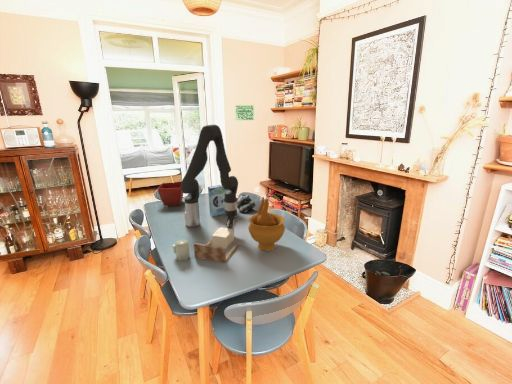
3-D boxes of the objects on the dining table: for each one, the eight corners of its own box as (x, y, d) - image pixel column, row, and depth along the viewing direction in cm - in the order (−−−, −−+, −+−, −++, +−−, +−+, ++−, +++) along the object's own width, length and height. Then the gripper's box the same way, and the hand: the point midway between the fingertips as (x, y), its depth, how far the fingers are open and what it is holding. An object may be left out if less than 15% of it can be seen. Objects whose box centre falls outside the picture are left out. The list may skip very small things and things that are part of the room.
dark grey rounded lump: (241, 214, 200) (233, 198, 201) (238, 215, 212) (231, 199, 212) (258, 206, 205) (250, 190, 205) (254, 207, 216) (247, 192, 216)
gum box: (231, 209, 211) (230, 182, 204) (234, 211, 207) (233, 184, 200) (209, 214, 200) (207, 186, 194) (212, 217, 196) (210, 188, 190)
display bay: (194, 257, 141) (193, 244, 139) (211, 241, 158) (210, 229, 156) (224, 262, 136) (224, 249, 133) (238, 245, 153) (237, 233, 151)
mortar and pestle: (290, 251, 146) (291, 201, 137) (254, 257, 140) (253, 205, 132) (276, 235, 165) (277, 191, 157) (244, 240, 160) (243, 194, 151)
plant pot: (164, 200, 234) (162, 182, 230) (186, 199, 236) (184, 182, 231) (159, 207, 216) (157, 188, 211) (182, 206, 218) (180, 187, 213)
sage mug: (172, 259, 139) (170, 244, 137) (179, 252, 146) (178, 238, 143) (185, 261, 137) (183, 246, 134) (192, 255, 143) (191, 240, 141)
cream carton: (212, 246, 153) (211, 235, 151) (220, 237, 164) (220, 227, 162) (226, 248, 150) (226, 237, 148) (233, 239, 161) (233, 228, 159)
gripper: (229, 204, 167) (230, 228, 172) (220, 211, 155) (222, 237, 160) (240, 205, 165) (241, 230, 170) (232, 212, 153) (233, 239, 158)
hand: (232, 233), depth 165 cm, fingers closed
